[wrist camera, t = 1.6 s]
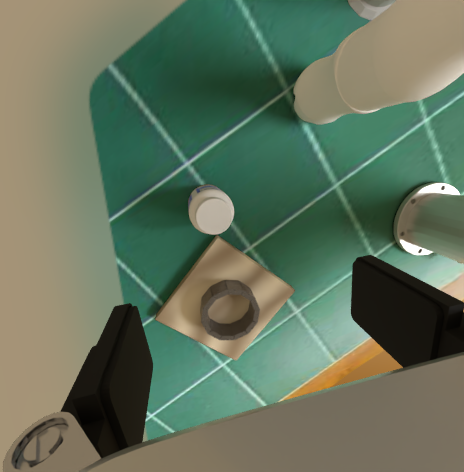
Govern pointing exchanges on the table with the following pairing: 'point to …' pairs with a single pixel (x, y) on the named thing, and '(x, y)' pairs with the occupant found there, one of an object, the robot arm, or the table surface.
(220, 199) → the pill bottle
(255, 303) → the collar
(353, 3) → the french press
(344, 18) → the table surface
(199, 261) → the stand plate
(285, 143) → the table surface
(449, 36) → the water bottle
